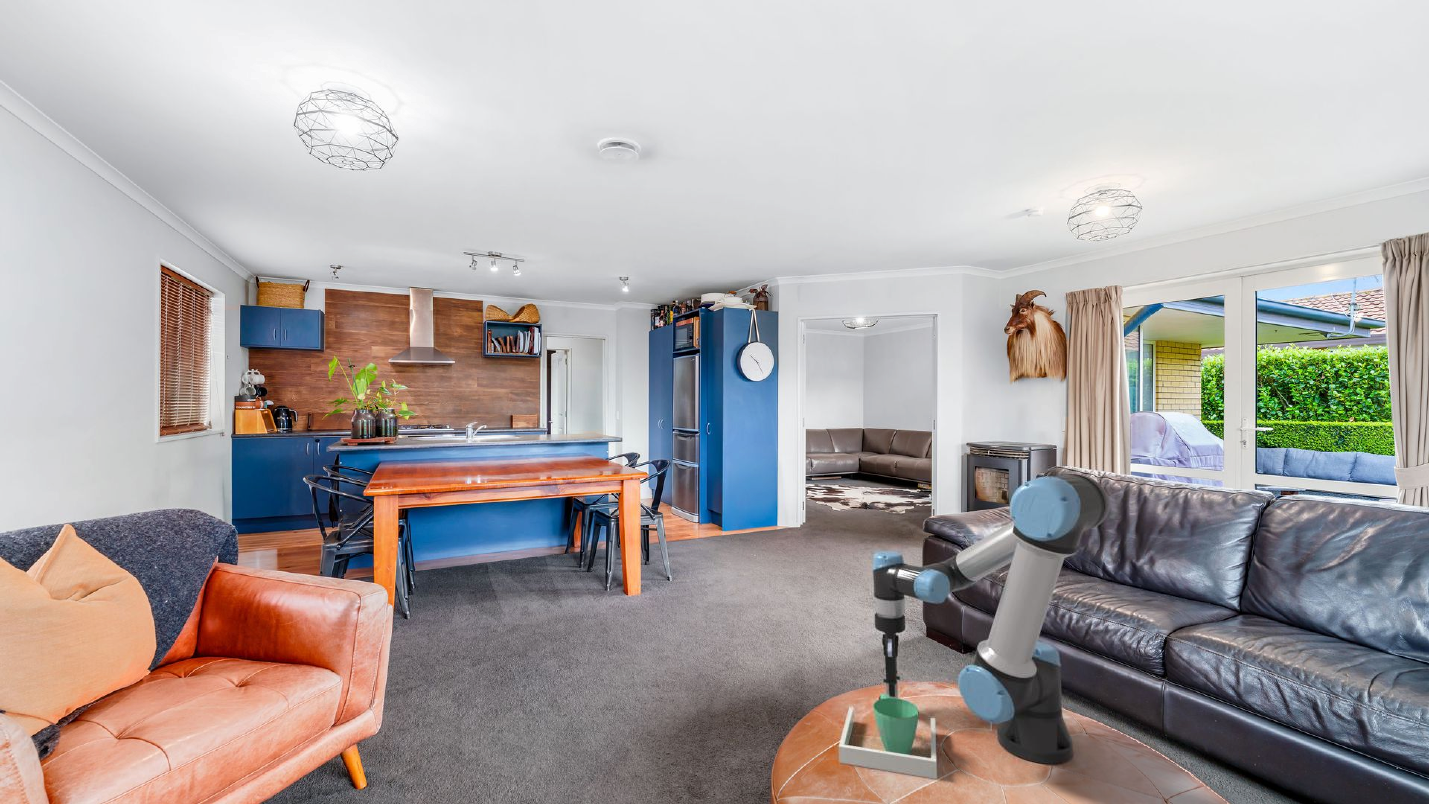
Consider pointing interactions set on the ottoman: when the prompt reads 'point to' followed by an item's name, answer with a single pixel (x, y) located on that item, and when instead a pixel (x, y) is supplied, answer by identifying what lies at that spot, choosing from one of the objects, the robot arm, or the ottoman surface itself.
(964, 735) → the ottoman surface
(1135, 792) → the ottoman surface
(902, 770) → the corral
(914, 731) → the mug
